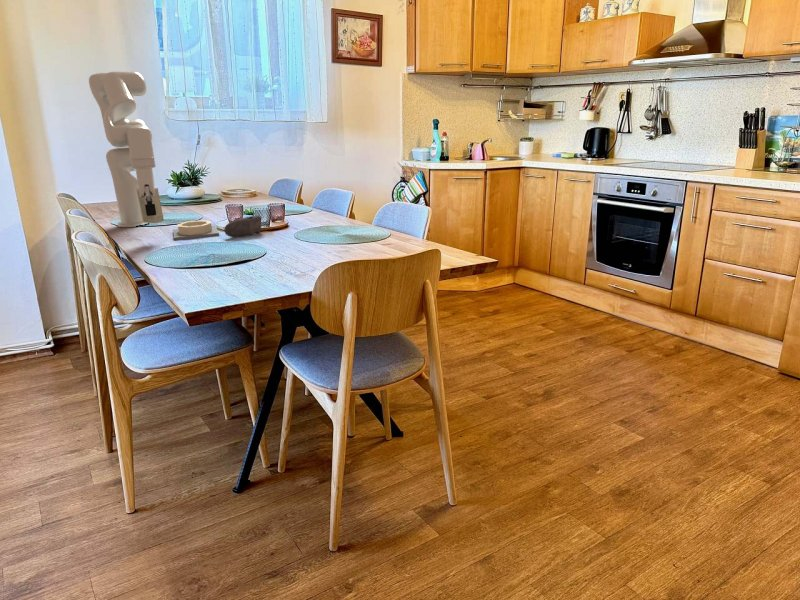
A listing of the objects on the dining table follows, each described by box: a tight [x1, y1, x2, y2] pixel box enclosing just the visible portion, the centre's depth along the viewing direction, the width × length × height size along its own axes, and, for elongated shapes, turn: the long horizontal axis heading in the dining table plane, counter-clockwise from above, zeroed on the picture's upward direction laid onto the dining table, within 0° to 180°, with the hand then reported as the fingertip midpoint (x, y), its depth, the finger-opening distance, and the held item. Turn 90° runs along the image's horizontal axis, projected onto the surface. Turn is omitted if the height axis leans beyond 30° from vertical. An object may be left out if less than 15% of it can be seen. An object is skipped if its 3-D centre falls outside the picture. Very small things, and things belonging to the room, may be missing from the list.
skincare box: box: [136, 187, 165, 224], centre depth 202 cm, size 6×4×12 cm
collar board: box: [172, 220, 220, 241], centre depth 217 cm, size 16×16×4 cm
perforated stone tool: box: [224, 215, 263, 238], centre depth 212 cm, size 15×5×7 cm, turn 122°
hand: (151, 212), depth 203 cm, fingers closed on skincare box, 7 cm apart
